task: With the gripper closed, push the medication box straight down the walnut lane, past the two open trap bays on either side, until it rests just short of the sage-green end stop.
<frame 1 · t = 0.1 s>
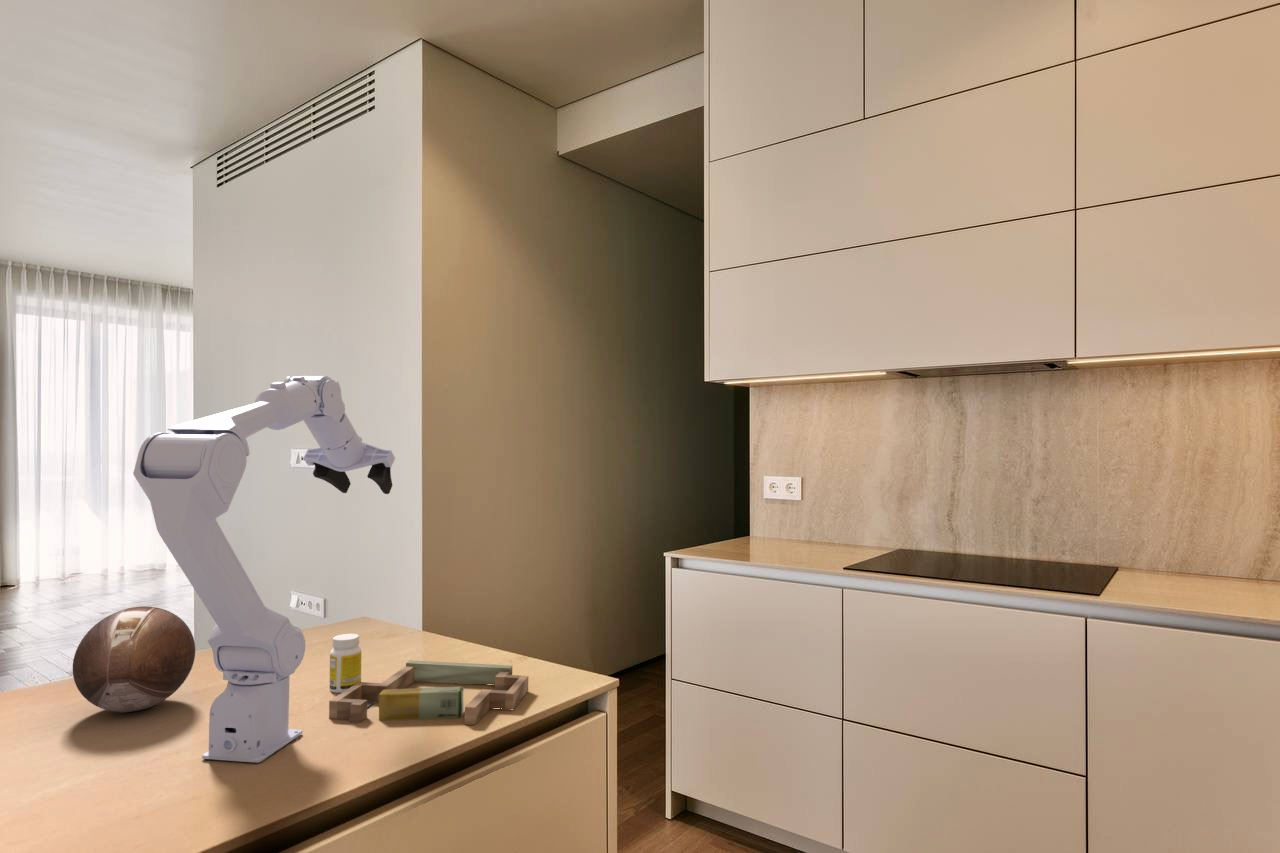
hand: (367, 488, 124), 32 cm above the counter, tool tilted 50°, fingers open, 7 cm apart
medication box: (421, 718, 106), on the counter
supplement bottle: (345, 689, 118), on the counter
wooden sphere: (135, 710, 108), on the counter
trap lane: (436, 701, 112), on the counter
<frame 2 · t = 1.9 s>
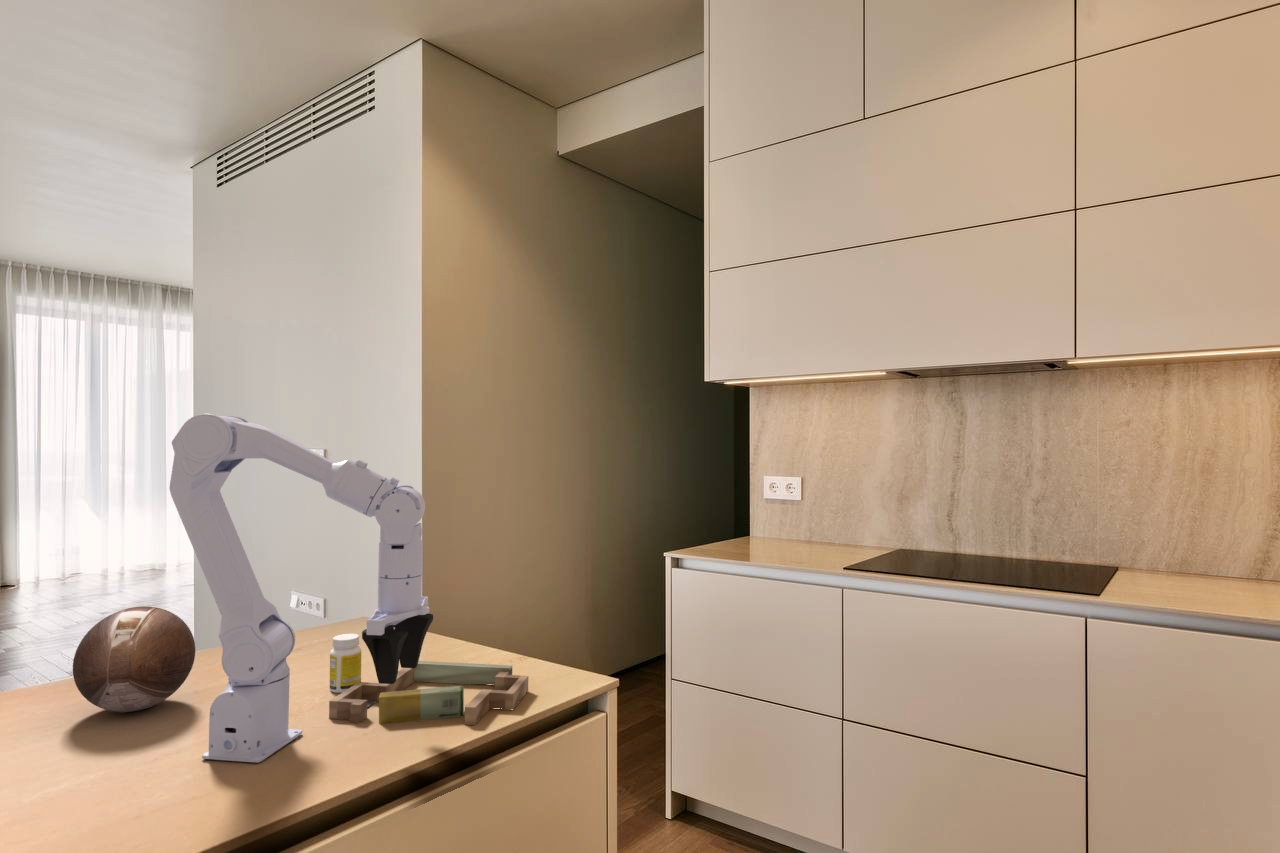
hand: (398, 674, 99), 8 cm above the counter, tool pointing down, fingers open, 6 cm apart
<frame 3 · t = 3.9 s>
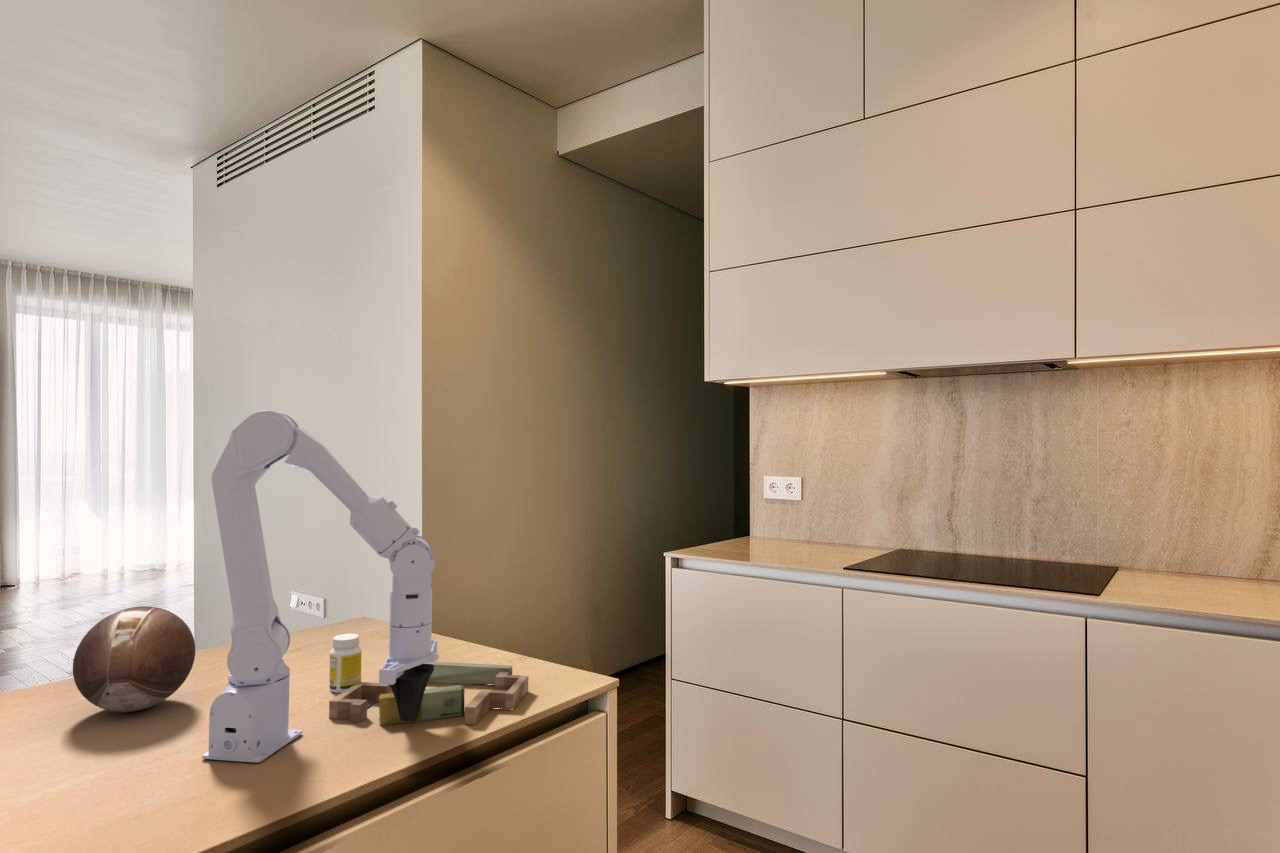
hand: (409, 719, 102), 1 cm above the counter, tool pointing down, fingers closed
medication box: (422, 719, 106), on the counter, touching gripper
everything else where it was.
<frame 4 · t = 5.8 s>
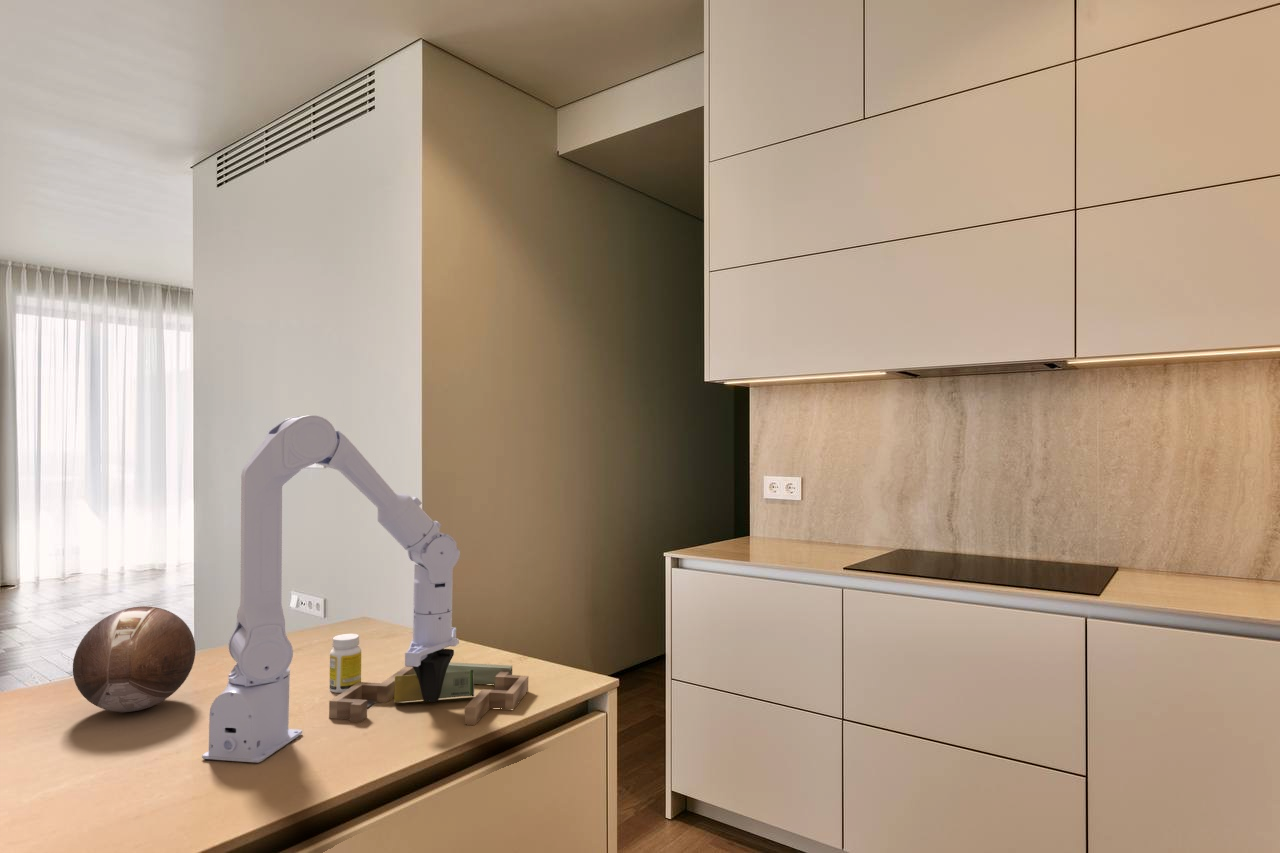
hand: (431, 700, 110), 1 cm above the counter, tool pointing down, fingers closed
medication box: (434, 700, 112), on the counter, touching gripper
everything else where it was.
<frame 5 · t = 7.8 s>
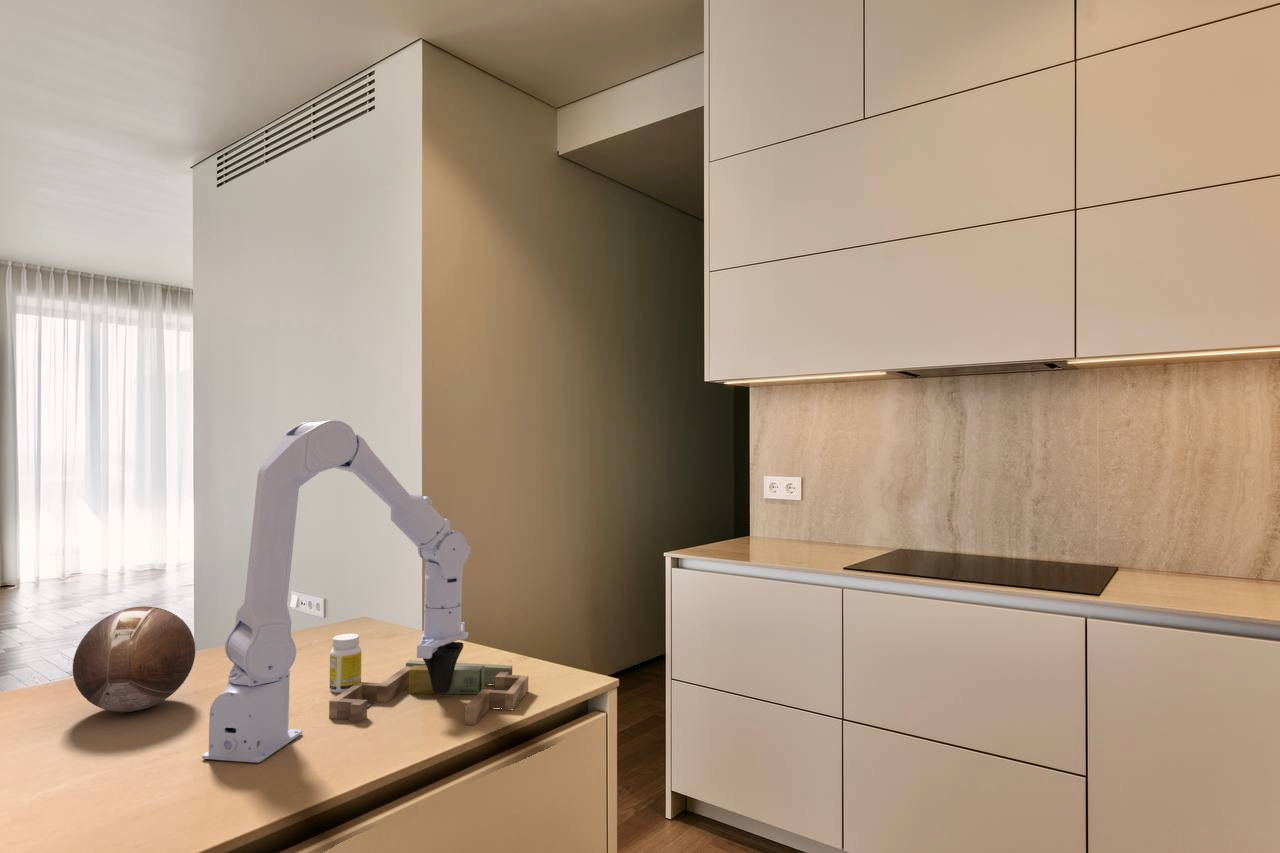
hand: (441, 691, 114), 1 cm above the counter, tool pointing down, fingers closed
medication box: (446, 693, 117), on the counter, touching gripper
everything else where it was.
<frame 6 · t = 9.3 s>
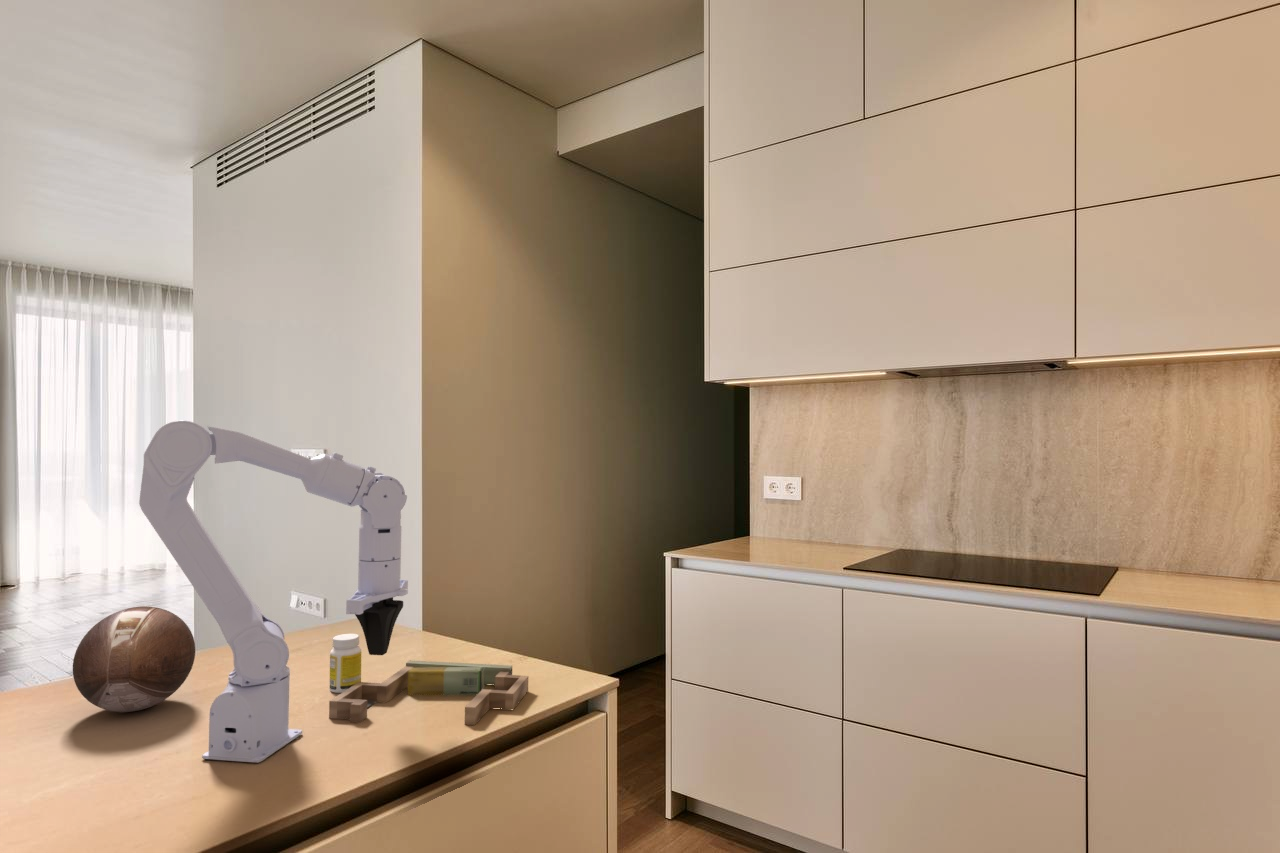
hand: (377, 653, 103), 10 cm above the counter, tool pointing down, fingers closed
medication box: (446, 694, 116), on the counter
everything else where it was.
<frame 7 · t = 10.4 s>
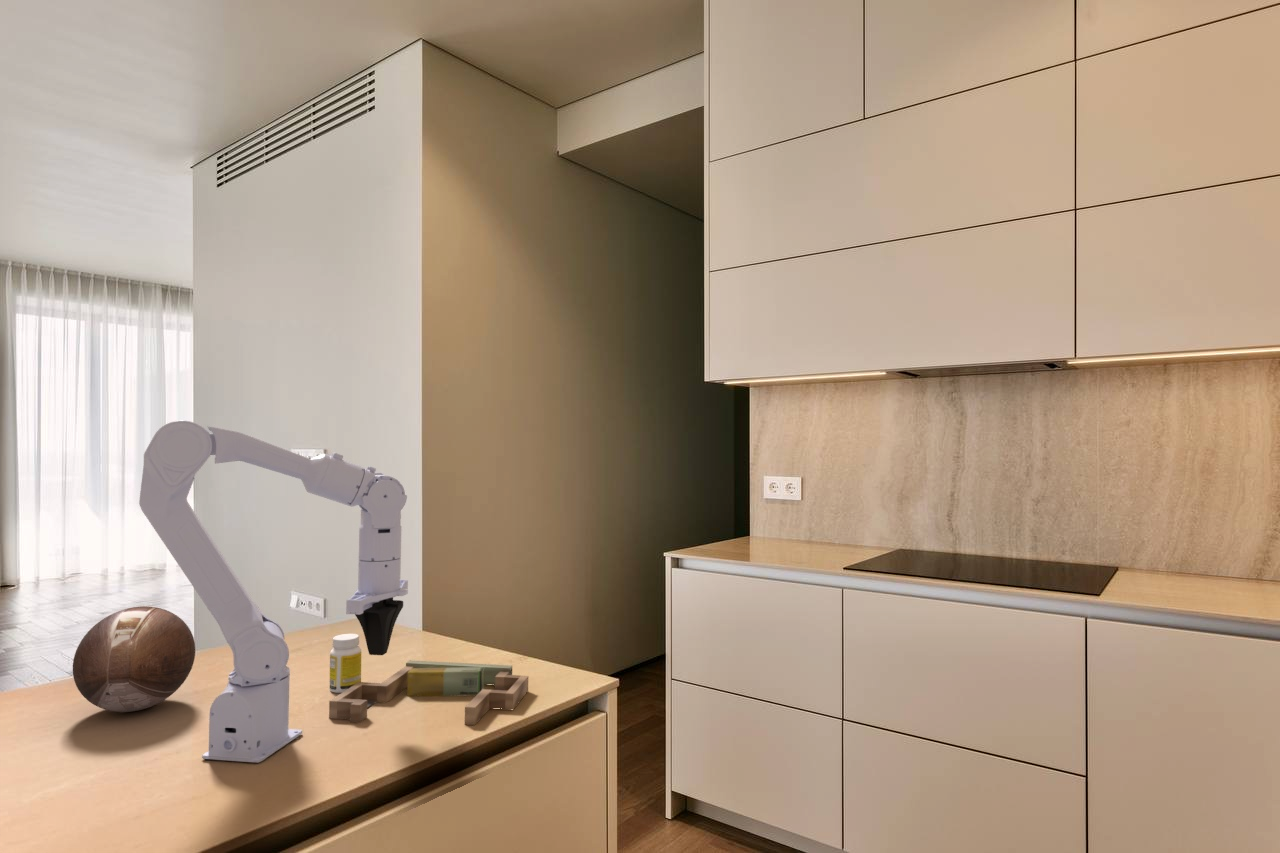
hand: (378, 653, 103), 10 cm above the counter, tool pointing down, fingers closed
nothing on the counter moved.
at the end: medication box inside the target area (1.4 cm from its centre), on the counter; medication box moved 9.6 cm from its start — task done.
